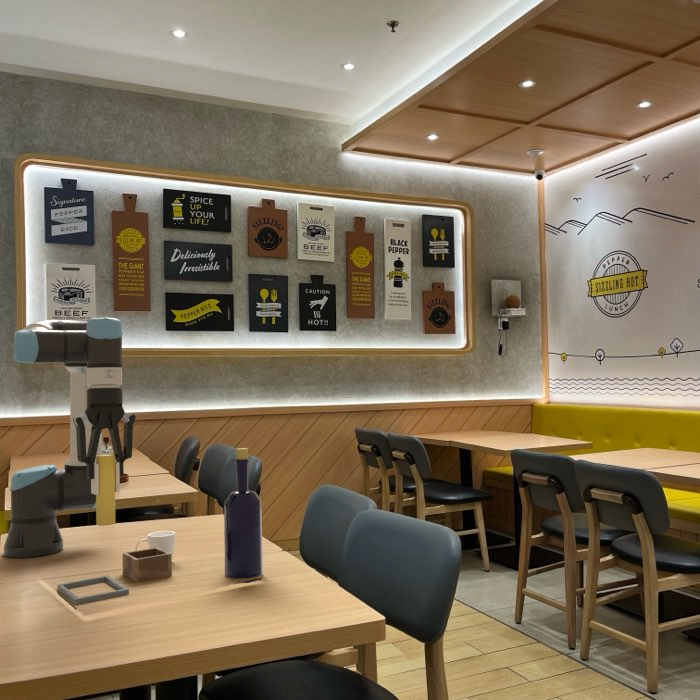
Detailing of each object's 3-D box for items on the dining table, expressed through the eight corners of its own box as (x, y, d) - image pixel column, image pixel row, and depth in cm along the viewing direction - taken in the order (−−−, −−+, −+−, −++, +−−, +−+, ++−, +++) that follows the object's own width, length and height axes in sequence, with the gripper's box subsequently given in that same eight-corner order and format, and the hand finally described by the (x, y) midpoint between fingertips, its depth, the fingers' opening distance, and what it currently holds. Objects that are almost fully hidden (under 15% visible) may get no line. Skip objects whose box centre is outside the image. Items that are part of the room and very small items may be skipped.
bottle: (271, 574, 165) (268, 447, 167) (249, 584, 157) (247, 450, 159) (238, 570, 169) (236, 446, 171) (216, 580, 161) (214, 450, 162)
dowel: (93, 523, 155) (93, 455, 156) (111, 521, 157) (111, 454, 158) (99, 526, 152) (99, 456, 152) (118, 523, 154) (117, 455, 155)
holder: (122, 578, 165) (122, 553, 165) (157, 572, 170) (157, 547, 170) (135, 586, 158) (135, 559, 158) (171, 579, 163) (171, 553, 163)
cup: (177, 567, 173) (176, 535, 174) (135, 572, 170) (134, 538, 171) (175, 561, 180) (175, 529, 180) (134, 565, 177) (134, 533, 177)
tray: (57, 593, 154) (57, 584, 154) (107, 584, 160) (107, 575, 160) (75, 609, 142) (75, 599, 142) (128, 598, 149) (128, 589, 149)
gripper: (70, 387, 148) (71, 499, 147) (147, 386, 158) (148, 490, 157) (60, 388, 154) (60, 495, 153) (135, 386, 164) (136, 486, 163)
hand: (105, 492), depth 155 cm, fingers closed on dowel, 4 cm apart
